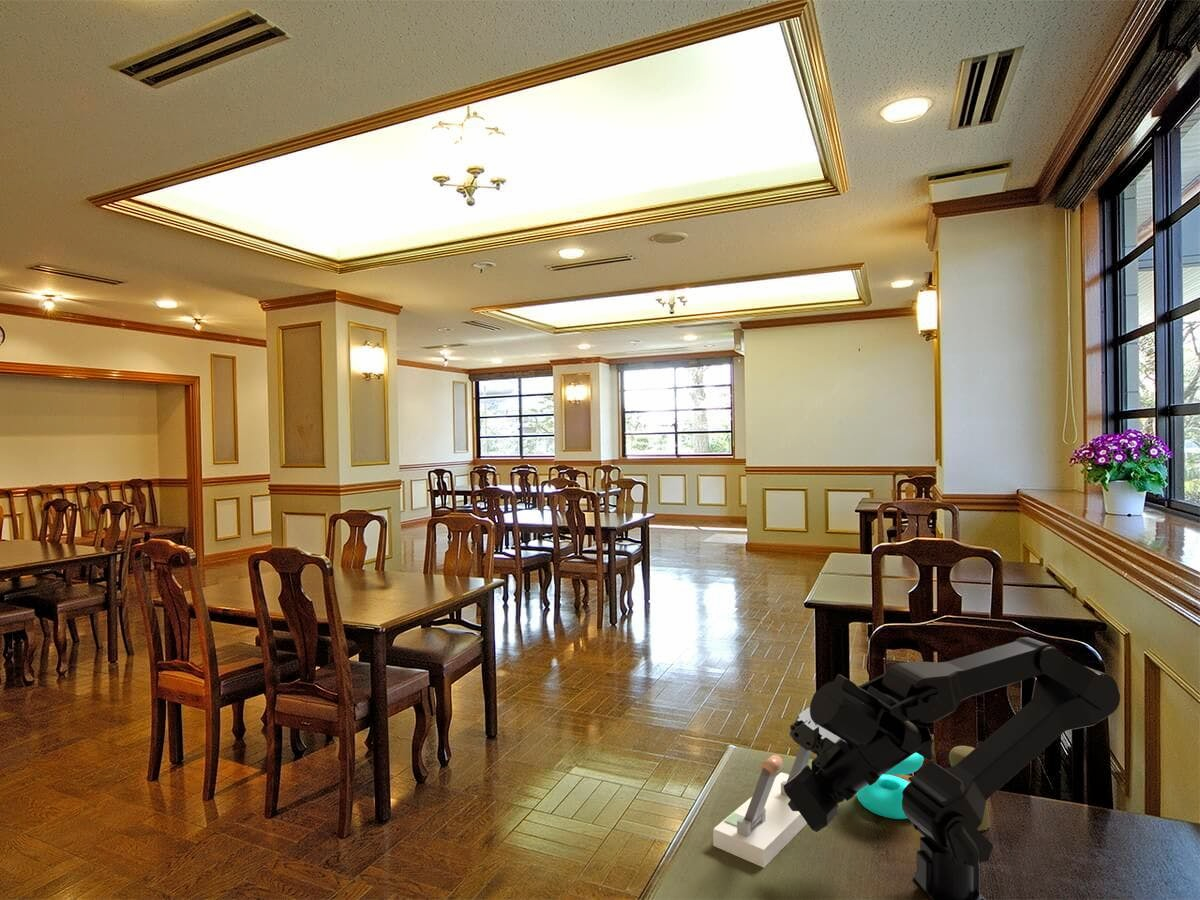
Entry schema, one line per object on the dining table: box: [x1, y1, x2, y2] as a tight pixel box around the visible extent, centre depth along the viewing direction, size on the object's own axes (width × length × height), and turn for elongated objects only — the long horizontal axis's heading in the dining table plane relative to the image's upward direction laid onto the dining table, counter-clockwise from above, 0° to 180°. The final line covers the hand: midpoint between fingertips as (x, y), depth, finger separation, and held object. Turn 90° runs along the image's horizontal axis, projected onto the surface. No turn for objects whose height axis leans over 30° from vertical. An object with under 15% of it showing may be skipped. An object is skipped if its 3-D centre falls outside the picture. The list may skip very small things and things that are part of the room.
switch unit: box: [712, 772, 808, 868], centre depth 105 cm, size 8×22×4 cm, turn 140°
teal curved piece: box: [855, 753, 925, 820], centre depth 110 cm, size 10×10×10 cm
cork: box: [948, 745, 991, 832], centre depth 106 cm, size 6×6×11 cm
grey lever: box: [786, 745, 813, 782], centre depth 110 cm, size 2×3×11 cm, turn 140°
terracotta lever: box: [744, 754, 784, 829], centre depth 99 cm, size 2×3×11 cm, turn 139°
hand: (791, 806), depth 96 cm, fingers closed
